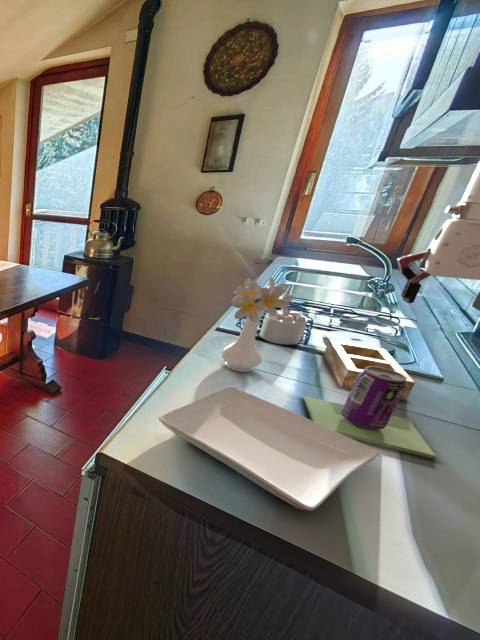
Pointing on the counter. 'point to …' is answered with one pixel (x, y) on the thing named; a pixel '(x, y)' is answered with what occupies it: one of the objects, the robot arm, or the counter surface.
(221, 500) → the counter surface
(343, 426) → the mat
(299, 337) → the lumpy-topped squat cylinder
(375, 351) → the can rack
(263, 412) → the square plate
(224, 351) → the flower vase
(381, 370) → the beverage can
